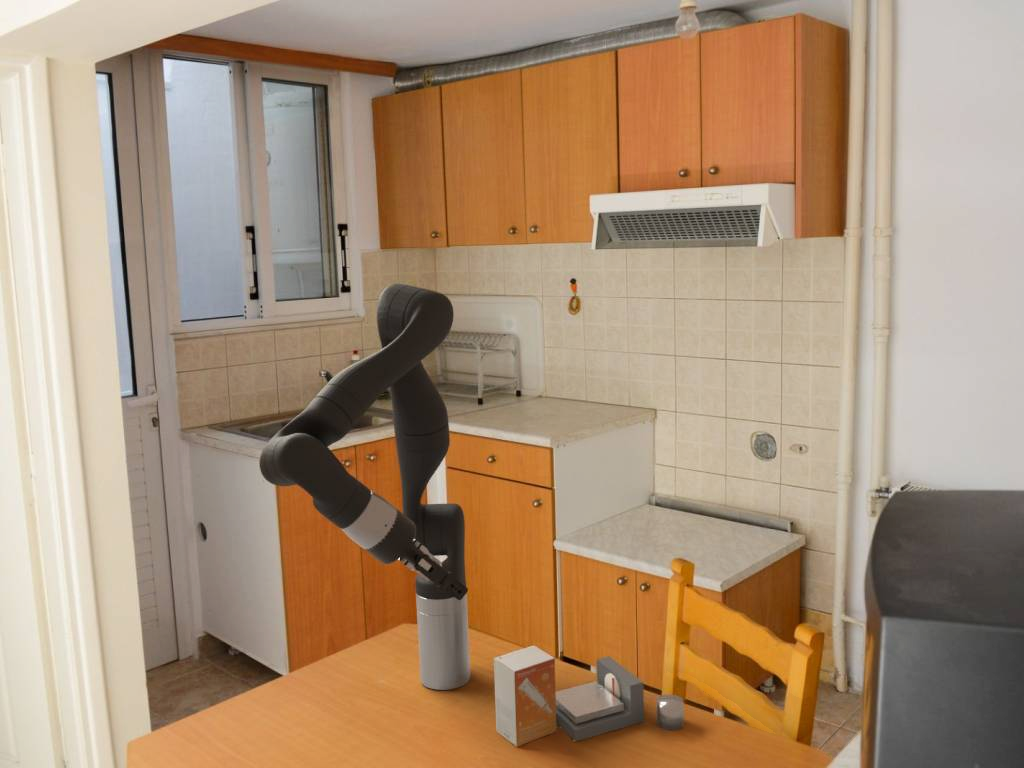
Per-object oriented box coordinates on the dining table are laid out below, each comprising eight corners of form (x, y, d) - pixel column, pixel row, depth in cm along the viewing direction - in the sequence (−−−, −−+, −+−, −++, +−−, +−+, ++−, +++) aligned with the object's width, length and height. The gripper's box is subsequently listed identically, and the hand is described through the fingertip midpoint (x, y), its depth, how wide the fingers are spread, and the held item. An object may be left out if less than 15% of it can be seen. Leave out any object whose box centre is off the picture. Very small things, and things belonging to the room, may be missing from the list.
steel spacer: (651, 720, 156) (651, 698, 156) (673, 714, 158) (673, 692, 157) (666, 733, 152) (666, 710, 152) (689, 726, 154) (689, 703, 154)
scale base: (544, 711, 161) (542, 673, 159) (609, 693, 166) (608, 656, 165) (575, 741, 151) (573, 701, 150) (643, 721, 156) (643, 682, 155)
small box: (516, 748, 149) (513, 671, 147) (495, 731, 155) (492, 657, 153) (558, 732, 154) (555, 657, 152) (535, 716, 159) (533, 643, 157)
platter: (550, 699, 160) (550, 693, 159) (596, 687, 163) (596, 681, 163) (575, 723, 152) (575, 717, 151) (623, 710, 155) (623, 703, 155)
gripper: (409, 518, 133) (486, 580, 139) (378, 495, 146) (451, 553, 152) (375, 560, 132) (455, 621, 138) (347, 533, 144) (422, 590, 151)
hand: (453, 585), depth 145 cm, fingers open, 8 cm apart
